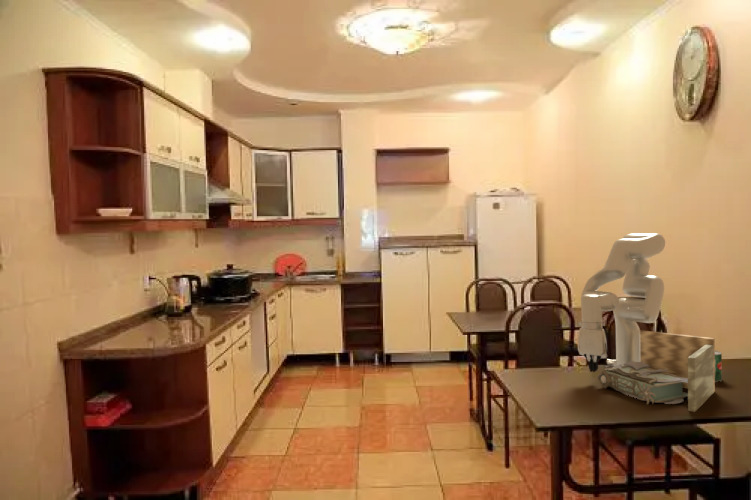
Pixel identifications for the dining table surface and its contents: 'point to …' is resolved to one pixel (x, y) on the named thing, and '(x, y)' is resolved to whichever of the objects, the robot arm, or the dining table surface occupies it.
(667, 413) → the dining table surface
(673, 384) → the ornate book
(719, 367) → the canned tomato
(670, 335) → the wooden corner bracket
